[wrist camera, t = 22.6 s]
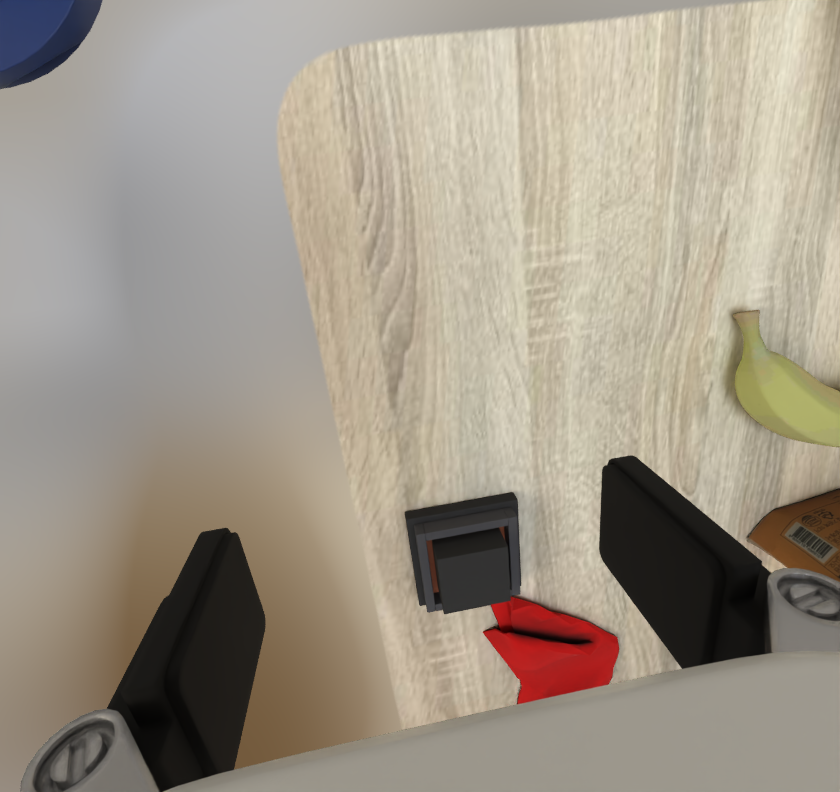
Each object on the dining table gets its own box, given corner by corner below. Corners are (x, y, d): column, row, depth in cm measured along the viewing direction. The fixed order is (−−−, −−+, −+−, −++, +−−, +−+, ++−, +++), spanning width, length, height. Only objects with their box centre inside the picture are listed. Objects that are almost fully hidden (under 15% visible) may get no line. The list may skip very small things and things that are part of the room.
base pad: (418, 596, 44) (421, 619, 41) (404, 511, 40) (408, 530, 37) (517, 577, 44) (527, 598, 42) (513, 491, 41) (523, 509, 38)
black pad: (437, 586, 42) (444, 614, 39) (430, 535, 40) (437, 560, 37) (500, 574, 42) (511, 601, 39) (496, 522, 40) (508, 546, 37)
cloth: (628, 713, 55) (639, 732, 52) (521, 749, 54) (528, 770, 52) (601, 552, 45) (614, 569, 43) (471, 596, 44) (476, 614, 42)
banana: (893, 504, 37) (733, 367, 33) (822, 485, 43) (677, 366, 39) (976, 369, 38) (828, 219, 34) (896, 368, 43) (760, 238, 39)
